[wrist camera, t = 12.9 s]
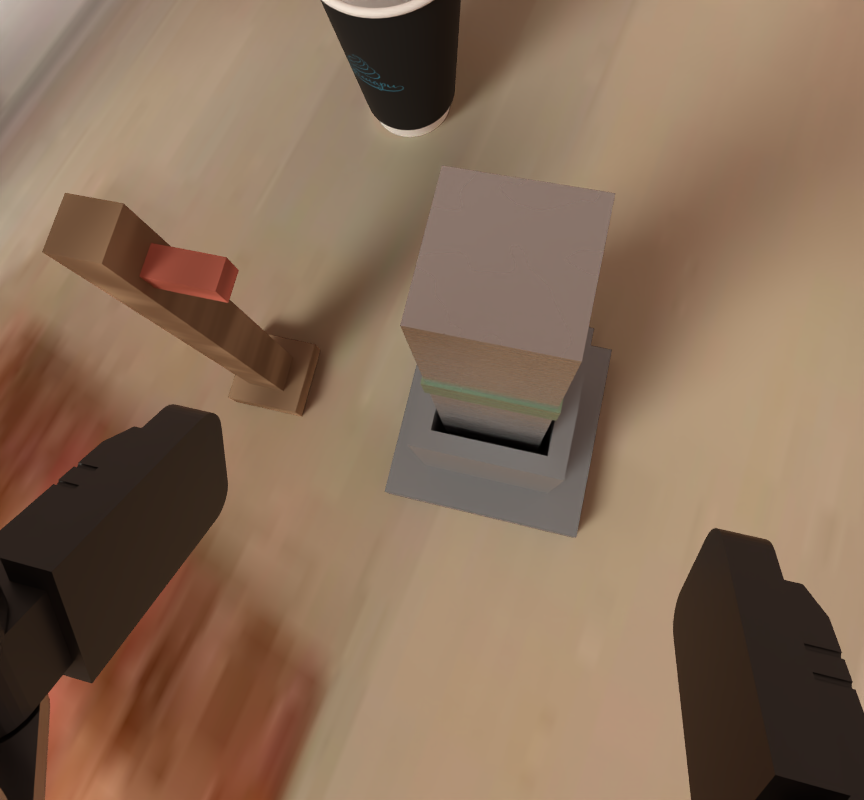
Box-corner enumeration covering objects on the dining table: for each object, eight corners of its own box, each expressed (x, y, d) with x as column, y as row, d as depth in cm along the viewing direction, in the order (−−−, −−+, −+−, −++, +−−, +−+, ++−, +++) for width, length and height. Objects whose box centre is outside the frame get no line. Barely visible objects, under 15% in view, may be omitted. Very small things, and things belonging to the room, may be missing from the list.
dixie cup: (346, 161, 39) (291, 17, 28) (355, 52, 40) (305, -124, 30) (474, 158, 38) (467, 9, 27) (477, 47, 40) (472, -135, 29)
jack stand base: (389, 493, 34) (353, 478, 25) (432, 323, 36) (412, 253, 27) (572, 537, 32) (601, 537, 24) (606, 357, 34) (645, 296, 26)
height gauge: (236, 401, 36) (1, 276, 19) (256, 337, 37) (47, 159, 19) (330, 422, 35) (173, 312, 18) (348, 356, 36) (215, 188, 19)
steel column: (443, 432, 27) (394, 328, 14) (464, 343, 28) (438, 160, 14) (537, 454, 27) (585, 367, 13) (557, 362, 28) (620, 189, 14)
